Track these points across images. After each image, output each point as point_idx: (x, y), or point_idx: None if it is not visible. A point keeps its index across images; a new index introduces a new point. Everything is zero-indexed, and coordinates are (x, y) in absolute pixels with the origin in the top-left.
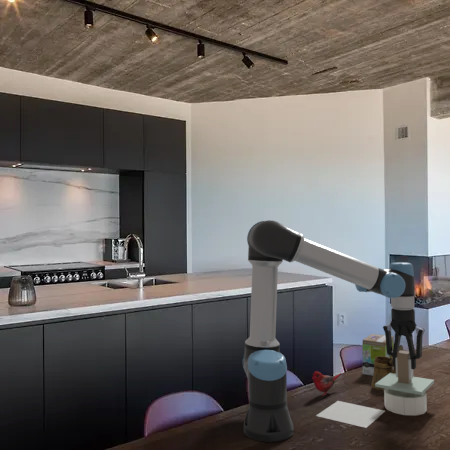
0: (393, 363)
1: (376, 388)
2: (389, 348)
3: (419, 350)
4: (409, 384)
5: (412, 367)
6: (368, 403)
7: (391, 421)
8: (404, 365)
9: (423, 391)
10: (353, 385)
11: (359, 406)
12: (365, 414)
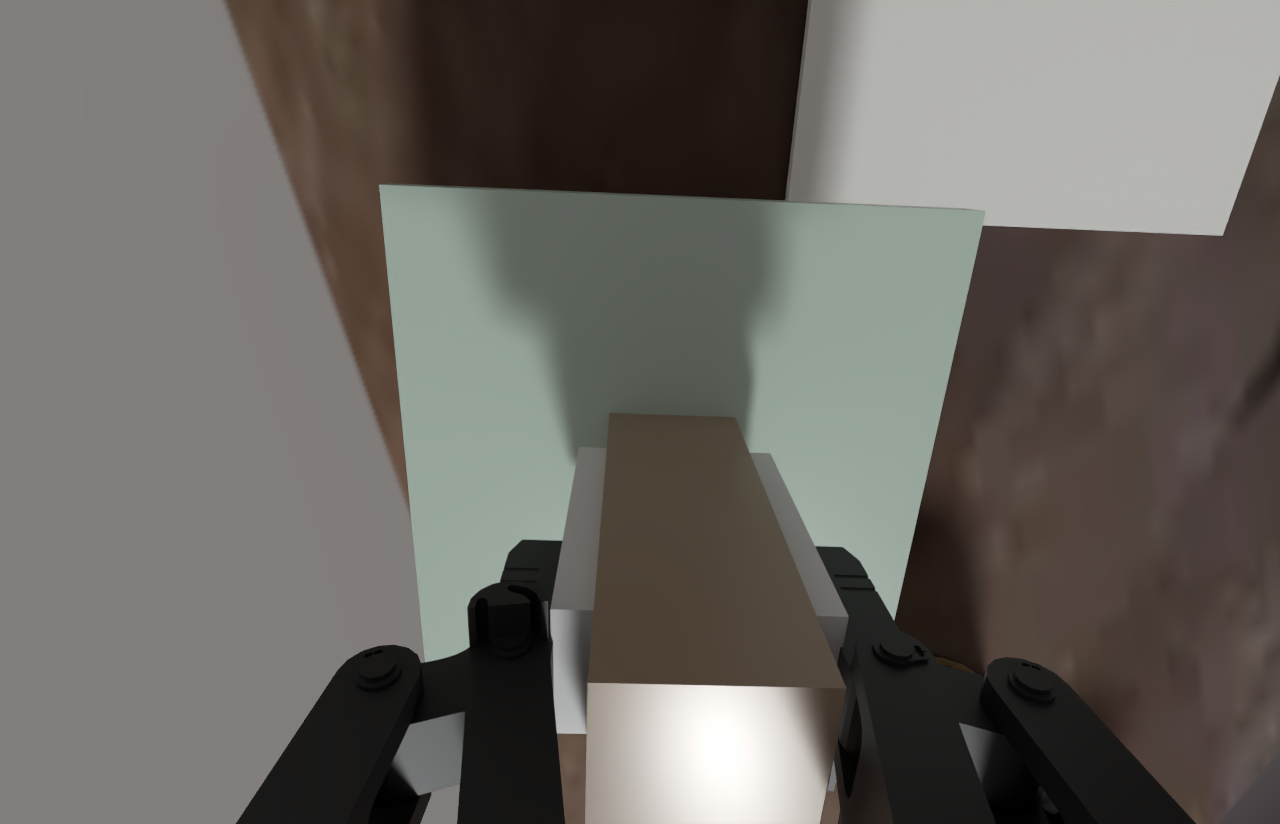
0: (857, 574)
1: (947, 662)
2: (1077, 780)
3: (255, 817)
4: (595, 402)
5: (545, 554)
6: None
7: (687, 22)
8: (661, 527)
9: (393, 270)
10: (1120, 655)
11: (1015, 199)
12: (931, 16)
